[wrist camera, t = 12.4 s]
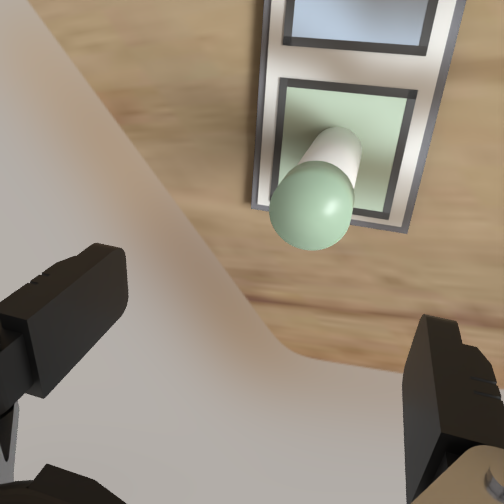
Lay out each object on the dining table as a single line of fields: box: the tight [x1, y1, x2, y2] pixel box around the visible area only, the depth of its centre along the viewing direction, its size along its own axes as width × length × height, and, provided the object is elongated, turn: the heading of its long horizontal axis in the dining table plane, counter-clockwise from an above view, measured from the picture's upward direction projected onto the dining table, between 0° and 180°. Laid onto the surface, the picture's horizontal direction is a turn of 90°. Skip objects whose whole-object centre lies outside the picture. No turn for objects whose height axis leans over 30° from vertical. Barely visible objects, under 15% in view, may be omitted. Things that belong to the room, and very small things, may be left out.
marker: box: [269, 127, 362, 250], centre depth 23 cm, size 4×4×11 cm
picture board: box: [251, 0, 466, 234], centre depth 26 cm, size 20×11×1 cm, turn 176°
